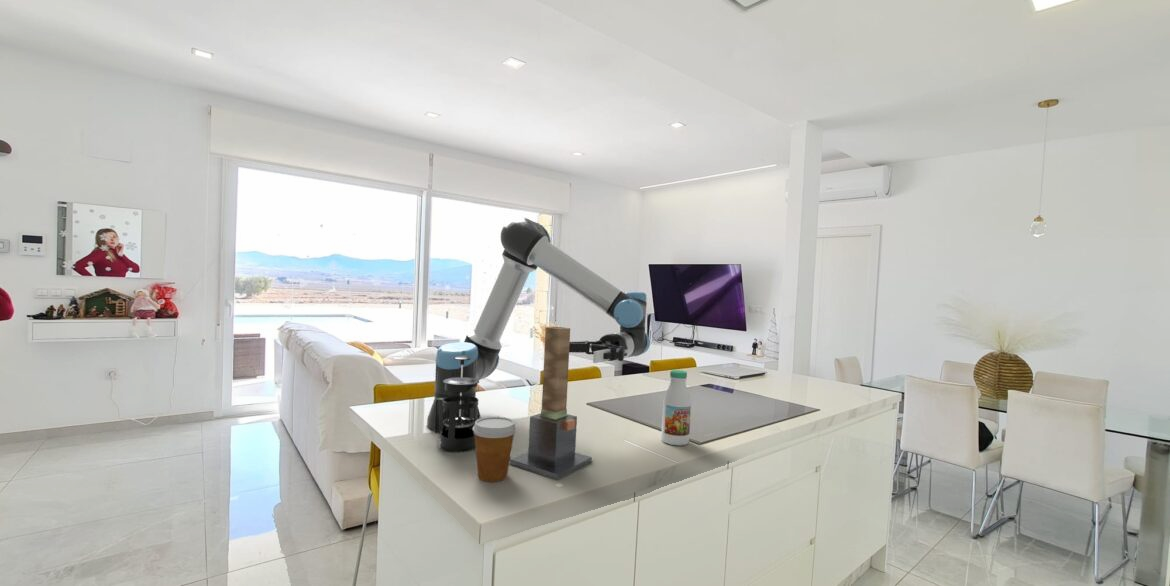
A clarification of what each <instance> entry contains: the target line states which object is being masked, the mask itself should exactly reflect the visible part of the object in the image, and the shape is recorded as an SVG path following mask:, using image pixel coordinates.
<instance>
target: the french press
mask: <svg viewBox="0 0 1170 586" xmlns="http://www.w3.org/2000/svg"><path fill="white" fill-rule="evenodd" d="M454 359H455V360H460V365H461V377H457V378H449V379H445V380H444V381H443V383H445V390H446V391H448V392H455V393H460V396H450V397H446V398H438V399H436V413H435V430H434V434H440V443H439V449H440V450H442V451H444V452H449V453H464V452H470V451H472V450H476V446H475V434H474V431H473V429H470V427H471V426H474V425H475V421H477V414H478V409H479V398H477V396H476V397H472V396H462V393H464V392H467V391H469V390H470V389H471V388H472V387H476V388H477V386H478V384H479V383H480V380H478V379H474V378H466V377H462V373H463V365H464V360H470V359H471V358H469V357H464V356H460V357H455V358H454ZM440 401H442V406H443V414H442V430H439V416H440ZM451 401H460V404H451V403H447V402H451ZM461 401H464V404H461ZM471 402H473V403H471ZM446 408H449V418H447V419H446ZM470 408H474V419H473V418H470ZM456 409H460V410H459V417H456ZM461 409H464V417H461ZM446 427H449V429H448V430H446Z"/></svg>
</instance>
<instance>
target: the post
mask: <svg viewBox="0 0 1170 586" xmlns="http://www.w3.org/2000/svg"><path fill="white" fill-rule="evenodd" d="M544 333H545V334H544V336H545V337H544V352H543V353H544V354H543V356H544V357H543V374H542V376H543V377H542V393H541V394H542V395H541V409H540V413H541V417H542V418H546V419H550V420H554V421H557V420H560V419H563V418H566V416H567V414H568V410H567V403H568V385H569V383H568V382H569V363H570V352H569V346H570V342H571V328H570V327H562V326H547V327H545V332H544Z"/></svg>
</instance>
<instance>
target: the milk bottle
mask: <svg viewBox="0 0 1170 586" xmlns="http://www.w3.org/2000/svg"><path fill="white" fill-rule="evenodd" d="M687 373H688V372H687V371H685V370H682V369H681V370H680V369H672V370H670V374H669V378H670V382H669V385H668V387H667V390H666V391H665V393H664V396H663V402H662V414H661V415H662V417H661V418H662V419H661V435H660V437H661V438H660V439H661V441H662V442H663V443H665V444H667V445H672V446H686V445H688V444H689V441H690V429H691V413H692V412H691V410H692V409H691V408H692V407H691V406H692V403H691V402H692V401H691V397H690V396H691V395H690V393H689V390H688V387H687V382H686V381H687V380H688V379H687V377H688V374H687Z"/></svg>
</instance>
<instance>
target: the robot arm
mask: <svg viewBox="0 0 1170 586" xmlns="http://www.w3.org/2000/svg"><path fill="white" fill-rule="evenodd" d="M500 242H501V245H502V248H503V252H502V254H501V256H502V258H503V264H502V267H501V269H500V271H499V273H498V275H497V278H496V280H495V282H494V284H493V286H492V289H491V292H490V294H489V296H488V298H487V300H486V303H485V305H484V307H483V309H482V312H481V314H480V316H479V319H478V321H477V323H476V325H475V328H474V330H472V331H469V332H467V334H466V336H465V339H464V341H460V342H459V341H457V342H456V341H455V342H450V343H448V342H447V343H445V344H442V345H441V346H439V347H438V348H437V351H436V357H435V373H434V374H435V375H434V376H435V378H434V379H435V380H434V399H433V403H432V405H431V407H430V410H429V413H428V416H427V419H426V422H427V423H426V426H427V428H428V429H430V430H433V431H435V413H436V399H438V398H446V397H450V396H460V393H455V392H448V391H446V390H445V383H443V381H444V380H445V379H449V378H457V377H461V365H460V360H455V359H454V358H455V357H460V356H464V357H469V358H471V359H470V360H464V365H463V373H462V377H466V378H474V379H478V380H479V381H481V380H483V379H485V378H488V377H489V376H490V375H492V374H493V373H494V372H495V371H496V369H497V367H498V365H499V362H500V352H501V349H502V343H501V338H502V335H503V334H504V331H505V329H506V326H507V325H508V322H509V321H510V317H511V316H512V314H513V311H514V309H515V307H516V304H517V302H518V300H519V297H520V295H521V293H522V290H523V289H524V286H525V285H526V282H527V280H528V277H529V275H530V273H532V272H535V271H536V270H537V269H538V268H539V269H540V270H542V271H543V272H545V273H546V274H548V275H549V276H551V277H552V278H553V279H555V280H556V281H558V282H560V283H561V284H562V285H564V286H565V287H567V288H568V289H570V290H572V292H574V293H575V294H577V295H579V296H580V297H581V298H583V299H585V300H586V301H588V302H589V303H591V304H592V305H594V306H595V307H596V308H597V309H599V310H600V311H602V312H603V313H605V314H607V315H608V316H609V317H611V318H612V319H613V320H615V322H616V323H617V324H618V325H619V327H620V328H619V332H615V333H614V332H613V333H608V334H607V333H605V334H604V335H602V336H601V337H600V338H599V340H594V341H593V340H592V341H590V340H585V341H584V340H582V341H570V346H569V353H574V354H575V353H585V354H586V355H593V356H592V357H593V359H592V362H593V363H594V364H598V363H602V362H607V361H608V362H614V361H619V362H622V361H624V359H627V358H630V357H631V358H633V357H638V356H641V355H643V354H645V353H646V352H648V350H649V348H650V345H651V340H650V337H649V334H647V333H646V318H647V317H646V316H647V305H648V302H647V293H645V292H643V291H622V290H620V289H619V288H618V287H616V286H614V285H613V284H611V283H610V282H608V281H607V280H606V279H604V278H603V277H601V276H599V275H598V274H597V273H595V272H594V271H592V270H591V269H589V268H588V267H586V266H585V265H583V264H582V263H580V262H579V261H578V260H577V259H574V258H573V257H572V256H570V254H567V253H566V252H564V251H563V250H561V249H559V248H558V247H557V246H555V245H553V244H552V242H551V237H550V233H549V232H548V230H547V229H546V228H545V226H543V225H541V224H540V223H539V222H536V221H533V220H530V218H527V217H523V216H522V217H521V216H519V217H514V218H512V219H509V220H508V221H507V222H506V223H505V224H504V225H503V227H502V228H501V232H500ZM476 394H477V387H472V388H471V389H470V390H469V391H467V392H464V393H462V396H472V397H476V398H477V396H476ZM447 403H451V404H460V401H451V402H447ZM471 403H473V402H471ZM461 404H464V401H461ZM459 410H460V409H456V417H459ZM442 414H443V406H442V401H440V416H439V430H442ZM461 417H464V409H461ZM447 418H449V408H446V419H447ZM470 418H473V419H474V408H470ZM481 418H482V417H481V413H480V410H479V408H478V414H477V420H478V419H481ZM448 429H449V427H446V430H448ZM470 429H473V426H471V427H470Z"/></svg>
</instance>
